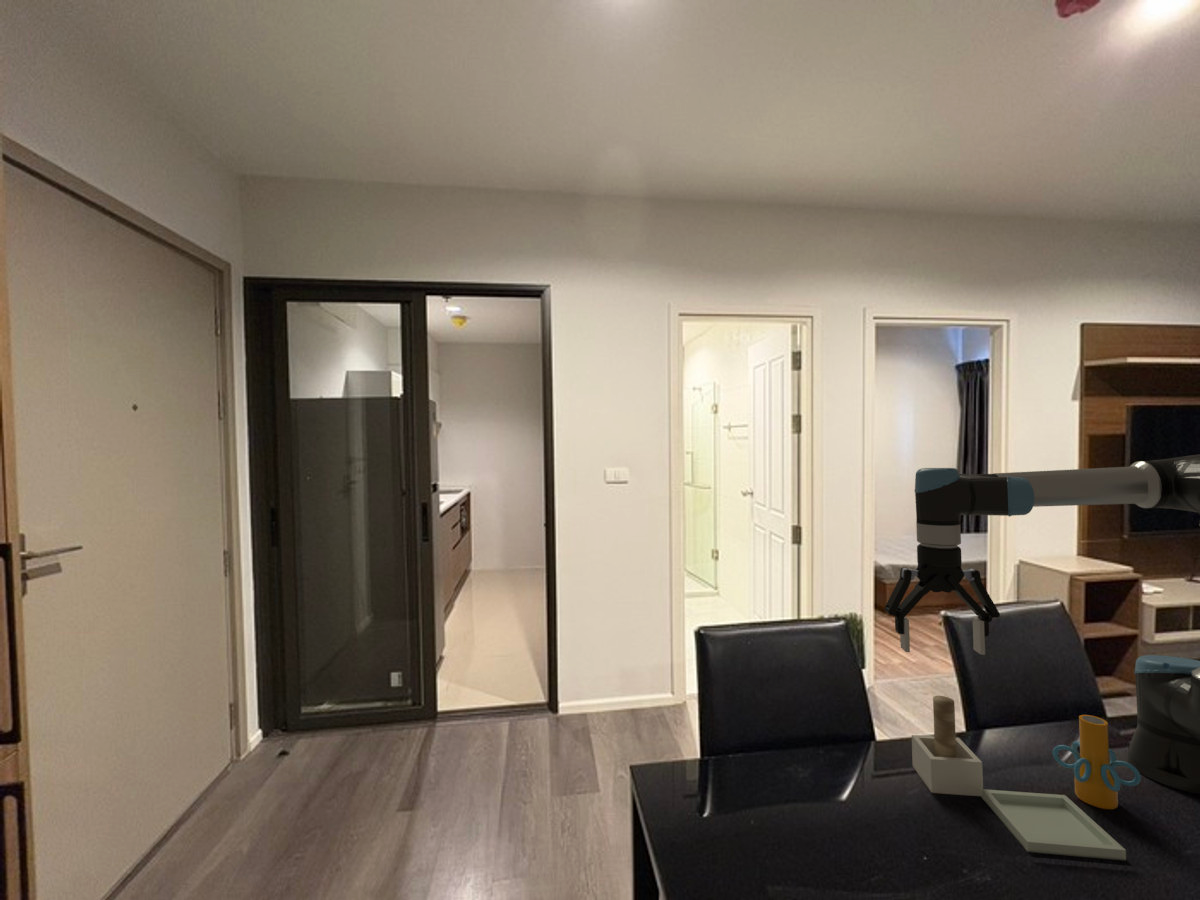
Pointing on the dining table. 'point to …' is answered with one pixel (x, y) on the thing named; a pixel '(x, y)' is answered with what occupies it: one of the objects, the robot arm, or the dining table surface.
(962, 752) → the hollow square block
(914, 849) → the dining table surface
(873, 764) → the dining table surface
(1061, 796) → the tray
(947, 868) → the dining table surface
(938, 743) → the dowel
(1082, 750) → the tube with teal loops
